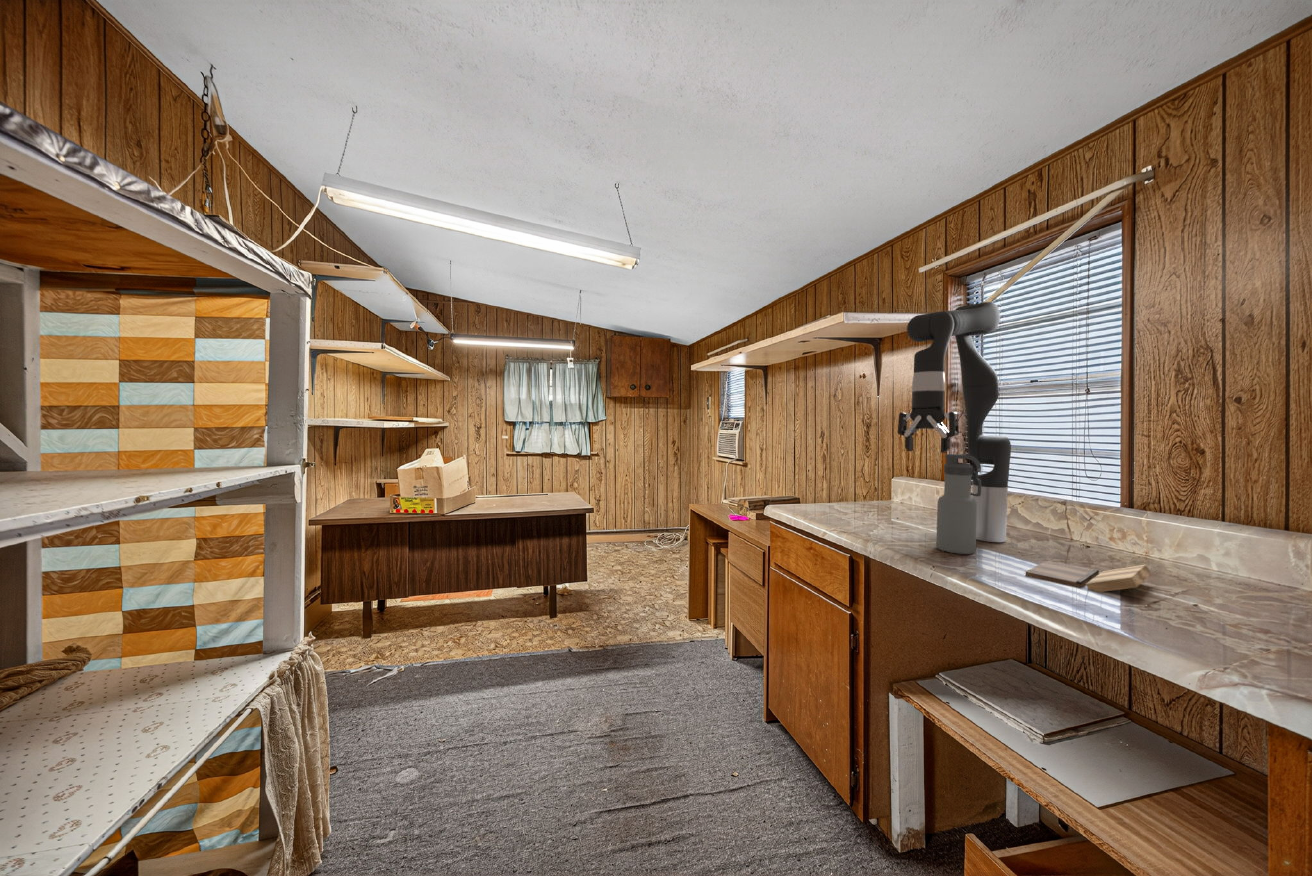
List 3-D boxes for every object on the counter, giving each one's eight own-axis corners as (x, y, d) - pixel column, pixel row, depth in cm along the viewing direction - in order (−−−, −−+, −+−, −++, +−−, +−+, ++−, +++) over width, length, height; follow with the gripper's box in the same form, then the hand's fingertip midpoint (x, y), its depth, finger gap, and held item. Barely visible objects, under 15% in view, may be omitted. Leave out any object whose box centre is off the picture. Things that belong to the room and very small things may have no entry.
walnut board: (1046, 568, 123) (1046, 559, 123) (1098, 578, 115) (1099, 569, 115) (1025, 580, 113) (1025, 570, 113) (1080, 592, 105) (1081, 581, 105)
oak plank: (1107, 579, 114) (1103, 571, 114) (1150, 573, 108) (1145, 564, 108) (1090, 593, 104) (1085, 583, 105) (1136, 587, 98) (1131, 577, 99)
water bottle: (965, 546, 144) (968, 453, 143) (984, 555, 134) (988, 456, 133) (930, 545, 145) (932, 453, 144) (946, 554, 135) (949, 455, 134)
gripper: (964, 389, 122) (962, 453, 123) (907, 392, 133) (905, 450, 134) (951, 388, 118) (949, 454, 118) (893, 390, 129) (892, 450, 130)
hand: (926, 451), depth 126 cm, fingers open, 8 cm apart
